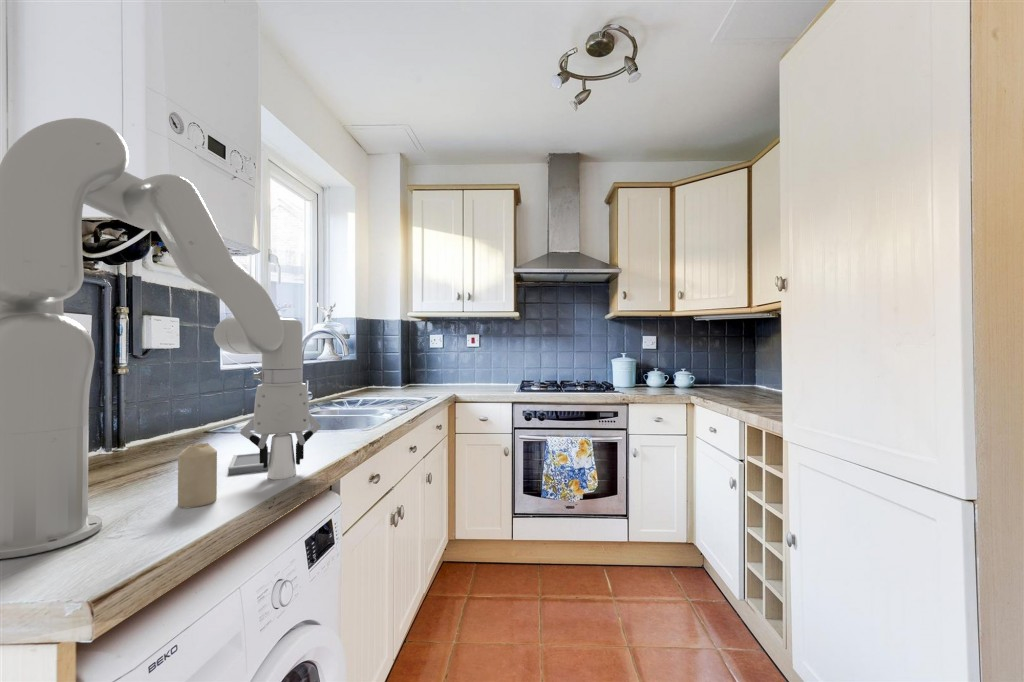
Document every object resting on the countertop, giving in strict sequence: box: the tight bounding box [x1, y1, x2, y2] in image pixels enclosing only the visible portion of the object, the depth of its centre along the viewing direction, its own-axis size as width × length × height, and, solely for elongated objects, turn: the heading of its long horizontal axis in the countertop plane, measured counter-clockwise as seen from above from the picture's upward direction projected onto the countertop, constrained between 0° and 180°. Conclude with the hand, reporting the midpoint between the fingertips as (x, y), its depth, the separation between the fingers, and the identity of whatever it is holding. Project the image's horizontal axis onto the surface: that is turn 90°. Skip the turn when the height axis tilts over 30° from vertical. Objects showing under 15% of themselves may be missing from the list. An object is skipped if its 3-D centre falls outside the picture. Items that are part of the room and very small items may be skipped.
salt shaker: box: [266, 433, 297, 481], centre depth 94 cm, size 5×5×11 cm
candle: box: [177, 442, 218, 509], centre depth 78 cm, size 6×6×10 cm
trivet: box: [227, 451, 270, 476], centre depth 102 cm, size 12×12×2 cm
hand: (281, 463), depth 93 cm, fingers open, 5 cm apart
